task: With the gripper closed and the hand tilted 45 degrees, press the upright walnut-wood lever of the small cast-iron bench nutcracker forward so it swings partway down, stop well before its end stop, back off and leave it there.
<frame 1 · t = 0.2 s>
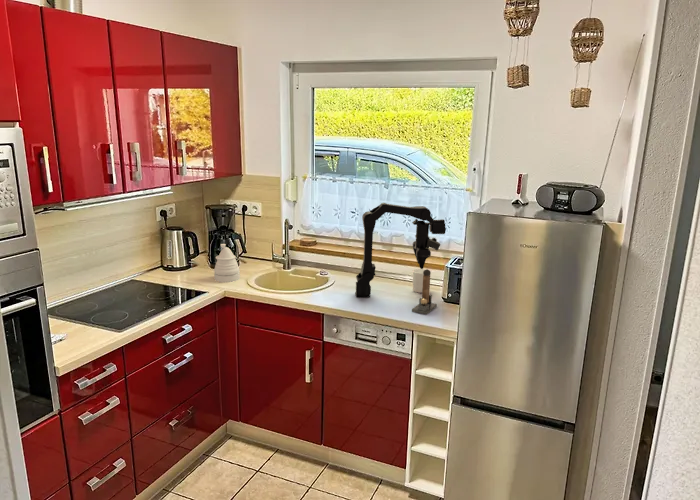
hand: (420, 266, 247), 14 cm above the worktop, tool pointing down, fingers open, 9 cm apart
honey pot: (227, 279, 271), on the worktop
white cup: (419, 291, 257), on the worktop
press base: (425, 307, 234), on the worktop
lever: (426, 286, 231), point 10 cm above the worktop, hinge at 0.0°
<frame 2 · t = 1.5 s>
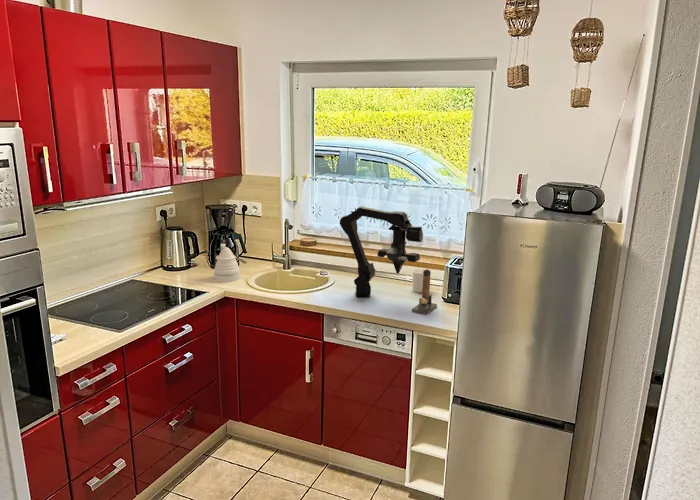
hand: (397, 273, 239), 13 cm above the worktop, tool pointing down, fingers closed
nothing on the worktop moved.
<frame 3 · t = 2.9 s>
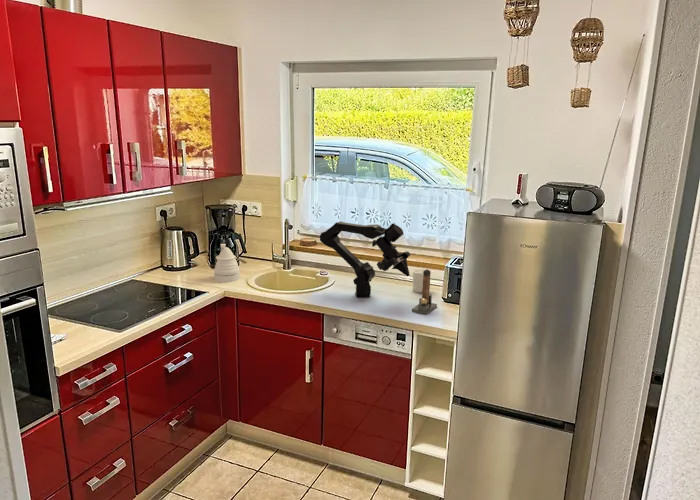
hand: (408, 275, 235), 13 cm above the worktop, tool tilted 45°, fingers closed
nothing on the worktop moved.
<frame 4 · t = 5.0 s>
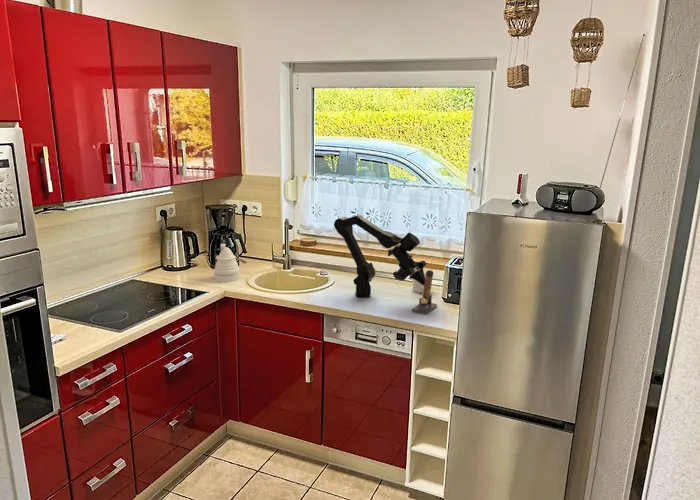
hand: (425, 285, 231), 10 cm above the worktop, tool tilted 45°, fingers closed, pressing on lever
lever: (427, 286, 231), point 10 cm above the worktop, hinge at 5.7°, touching gripper
everything else where it was.
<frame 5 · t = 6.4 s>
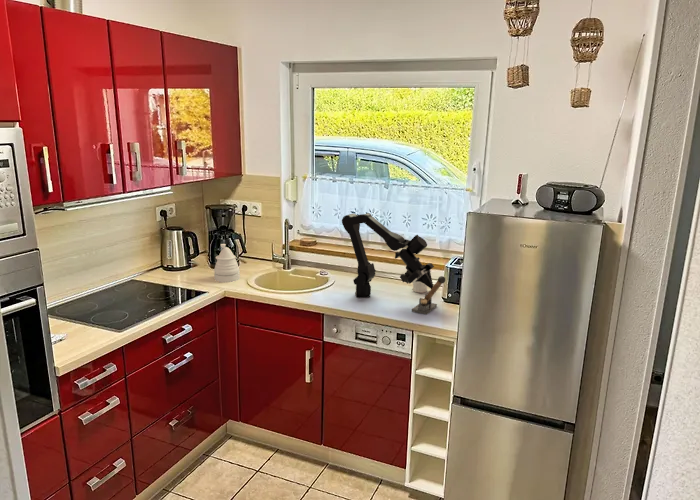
hand: (432, 288, 230), 10 cm above the worktop, tool tilted 45°, fingers closed, pressing on lever
lever: (433, 289, 230), point 9 cm above the worktop, hinge at 32.1°, touching gripper
everything else where it was.
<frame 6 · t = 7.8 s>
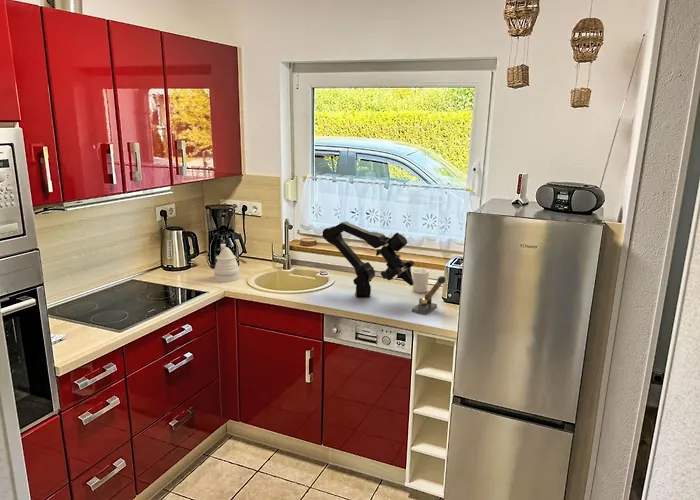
hand: (412, 284, 234), 9 cm above the worktop, tool tilted 45°, fingers closed
lever: (433, 290, 230), point 9 cm above the worktop, hinge at 32.2°
everything else where it was.
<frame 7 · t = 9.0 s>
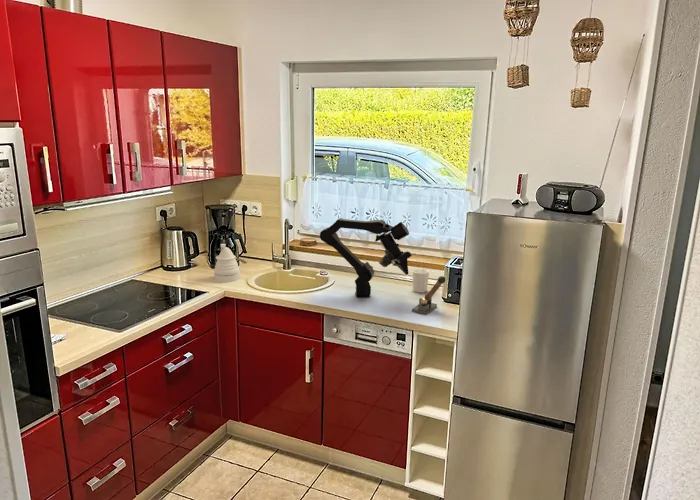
hand: (407, 274, 241), 12 cm above the worktop, tool tilted 35°, fingers closed
nothing on the worktop moved.
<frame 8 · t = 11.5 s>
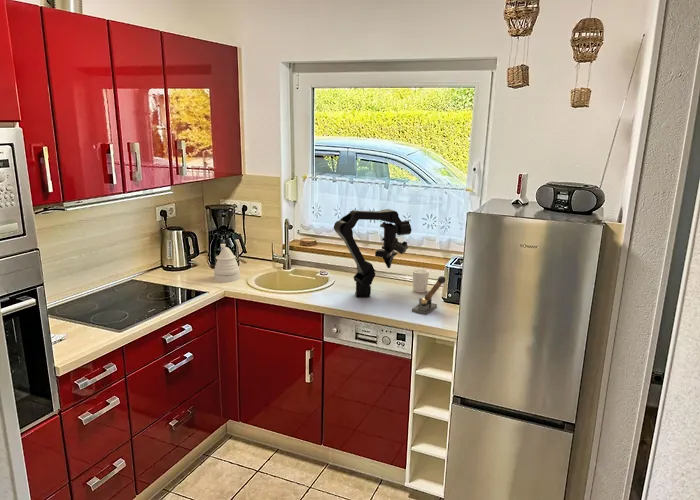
hand: (388, 267, 252), 12 cm above the worktop, tool pointing down, fingers closed
nothing on the worktop moved.
at the end: lever at +32° (first picture: +0°) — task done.
